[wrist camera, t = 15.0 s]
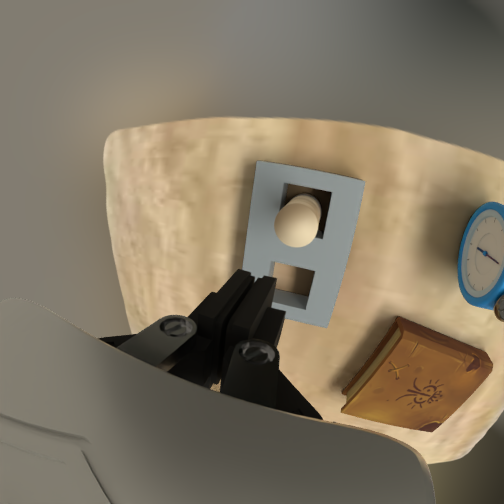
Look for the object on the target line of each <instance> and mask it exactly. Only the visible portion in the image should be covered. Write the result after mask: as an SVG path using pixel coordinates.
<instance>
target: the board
mask: <svg viewBox="0 0 504 504" xmlns="http://www.w3.org/2000/svg"><path fill="white" fill-rule="evenodd" d="M288 183H289V184H294V185H299V186H305V187H310V188H315V189H320V190H324V191H329V192H331V197H330V202H329V207H328V212H327V217H326V222H325V227H324V231H319V230H317V234H316V236H315V238H314V239H313V241H312V242H311V243H309V244H308V245H306V246H303V247H290V246H288V245H286V244H284V243H283V242H281V241H280V239H279V238H278V237H277V235H276V233H275V229H274V221H275V218H276V216H277V214H278V212H279V211H280V210H281V209H282V208H283V207H284V206H285V201H286V194H287V188H288ZM364 186H365V181H363V180H360V179H356V178H352V177H348V176H343V175H339V174H334V173H329V172H324V171H319V170H314V169H309V168H304V167H298V166H292V165H286V164H280V163H274V162H268V161H257V163H256V170H255V177H254V185H253V192H252V199H251V207H250V214H249V222H248V229H247V237H246V244H245V252H244V260H243V267H242V270H244V271H248V272H251V276H255V281H256V280H257V278H258V277H259V278H262V277H263V276H264V275H265V276H269V277H272V276H273V271H274V265H275V262H278V263H283V264H287V265H291V266H296V267H300V268H304V269H309V270H313V271H315V272H314V276H313V280H312V284H311V288H310V292H309V296H304V295H300V294H296V293H291V292H287V291H283V290H279V289H275V292H274V297H273V302H272V307H271V308H275V309H279V310H283V311H286V315H285V319H290V320H294V321H298V322H302V323H306V324H311V325H315V326H320V327H324V328H327V327H328V324H329V321H330V318H331V315H332V312H333V309H334V305H335V302H336V299H337V296H338V292H339V289H340V286H341V282H342V279H343V275H344V272H345V268H346V264H347V260H348V257H349V253H350V249H351V245H352V241H353V237H354V233H355V228H356V224H357V220H358V215H359V211H360V206H361V201H362V196H363V191H364Z"/></svg>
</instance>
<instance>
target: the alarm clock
mask: <svg viewBox="0 0 504 504" xmlns="http://www.w3.org/2000/svg"><path fill="white" fill-rule="evenodd" d="M458 282H459V287H460V290H461V293H462V295H463V297H464V298H465V300H466V301H467V302H468V303H469V304H471V305H473V306H477V307H481V308H485V309H490V310H494V314H495V316H496V317H497V319H499V320H500V321H502V322H504V205H502V204H500V203H497V202H488V203H485V204H483V205H482V206H480V207H479V208H478V209H477V210H476V211H475V213H474V214H473V216H471V219H470V221H469V223H468V225H467V227H466V229H465V232H464V235H463V238H462V241H461V245H460V250H459V257H458Z"/></svg>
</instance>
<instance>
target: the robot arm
mask: <svg viewBox="0 0 504 504" xmlns="http://www.w3.org/2000/svg"><path fill="white" fill-rule="evenodd" d="M276 281H277V278H273V277H269V276H265V275H264V276H263V277H262V278H259V277H258V278H257V280H256V281H255V276H251V272H248V271H244V270H240V269H238V270H237V271H236V272H235V273H234V274H233V276H232V277H231V278H230V279H229V280H228V281H227V282H226V283H225V284H224V285H223V287H222V288H221V289H220V290H219V291H218V292H217V293H215V292H211V293H210V294H209V295H208V296H207V297H206V298H205V299H204V300H203V301H202V302H201V303H200V305H199V306H198V307H197V308H196V309H195V310H194V311H193V312H192V313H191V314H190V315H189V316H188V317H185V316H181V315H169V316H165V317H163V318H161V319H159V320H157V321H156V322H154V323H153V324H151V325H150V326H148V327H147V328H145V329H144V330H142V331H141V332H139V333H138V334H132V335H123V336H113V337H104V338H99V339H98V338H96V337H94V336H92V335H91V334H89V333H87V332H85V331H84V330H82V329H80V328H78V327H77V326H75V325H74V324H72V323H70V322H69V321H67V320H66V319H64V318H62V317H60V316H59V315H57V314H55V313H53V312H52V311H50V310H49V309H47V308H45V307H43V306H41V305H39V304H37V303H34V302H32V301H29V300H26V299H20V298H8V299H5V300H3V301H0V504H435V494H434V488H433V482H432V478H431V474H430V471H429V468H428V466H427V463H426V461H425V460H424V458H423V457H422V455H421V454H420V453H419V452H418V451H417V450H415V449H414V448H412V447H411V446H409V445H407V444H406V443H404V442H402V441H399V440H397V439H395V438H392V437H390V436H388V435H385V434H381V433H378V432H375V431H372V430H368V429H363V428H359V427H355V426H351V425H345V424H340V423H336V422H329V421H325V420H323V418H322V417H321V416H320V414H319V413H318V412H317V411H316V410H315V409H314V407H313V406H312V405H311V404H310V403H309V402H308V401H307V400H306V399H305V398H304V397H303V396H302V394H301V393H300V392H299V391H298V390H297V389H296V388H295V387H294V386H293V385H292V383H291V382H290V381H289V380H288V379H287V378H286V377H285V376H284V374H283V373H282V372H281V371H280V370H279V360H280V355H279V351H278V350H277V345H278V342H279V339H280V335H281V331H282V327H283V323H284V319H285V315H286V311H283V310H279V309H275V308H271V307H272V302H273V297H274V292H275V286H276ZM220 380H221V386H220V393H219V392H217V391H214V390H211V389H210V388H211V386H212V385H213V383H214V384H216V385H217V384H218V383H219V381H220Z"/></svg>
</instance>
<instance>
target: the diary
mask: <svg viewBox="0 0 504 504" xmlns="http://www.w3.org/2000/svg"><path fill="white" fill-rule="evenodd" d="M492 369H493V363H492V361H491V360H490V358H489V356H488V354H487V353H486V352H484V351H482V350H479V349H477V348H475V347H472V346H470V345H467V344H465V343H462V342H460V341H457V340H455V339H453V338H450V337H448V336H445V335H443V334H440V333H438V332H435V331H433V330H431V329H428V328H426V327H423V326H421V325H418V324H416V323H414V322H411V321H409V320H406V319H404V318H402V317H397V319H396V320H395V322H394V323H393V325H392V326H391V328H390V329H389V331H388V332H387V334H386V335H385V337H384V338H383V340H382V341H381V342H380V344H379V345H378V347H377V348H376V349H375V351H374V352H373V354H372V355H371V356H370V358H369V359H368V360H367V362H366V363H365V364H364V366H363V367H362V368H361V370H360V371H359V372H358V373H357V375H356V376H355V377H354V378H353V380H352V381H351V382H350V383H349V384H348V386H347V387H346V388H345V389H344V390H343V392H342V394H343V395H347V401H346V404H345V405H344V406H343V407H342V408H341V413H344V414H348V415H352V416H355V417H359V418H363V419H367V420H371V421H375V422H379V423H384V424H388V425H393V426H398V427H403V428H409V429H414V430H420V431H427V432H433V431H434V430H435V429H437V428H438V427H439V426H440V425H441V424H442V423H443V422H444V421H446V420H447V419H448V418H449V417H450V416H451V415H452V414H453V413H454V412H455V411H456V410H457V409H458V408H459V407H460V406H461V405H462V404H463V403H464V402H465V401H466V400H467V399H468V398H469V397H470V396H471V395H472V394H473V393H474V391H475V390H476V389H477V388H478V387H479V386H480V385H481V384H482V382H483V381H484V380H485V379H486V378H487V377H488V375H489V374H490V373H491V372H492Z"/></svg>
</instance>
